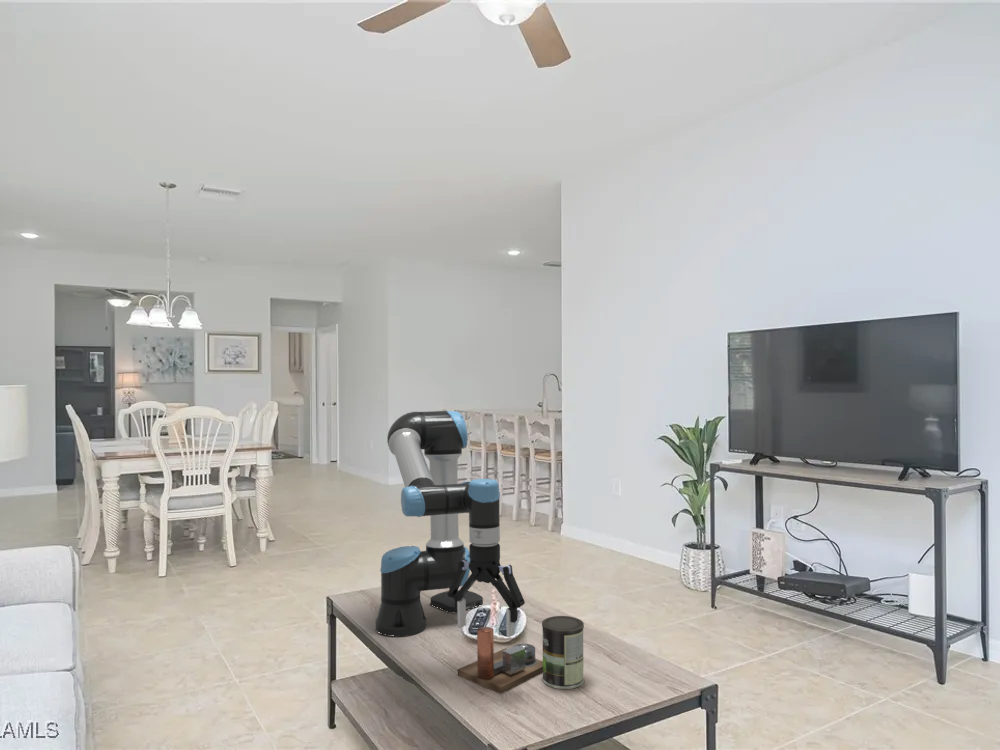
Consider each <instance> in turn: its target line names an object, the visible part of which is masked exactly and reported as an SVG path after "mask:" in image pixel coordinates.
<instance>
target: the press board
mask: <svg viewBox="0 0 1000 750" xmlns="http://www.w3.org/2000/svg"><path fill="white" fill-rule="evenodd" d="M506 649H508V648H507V647H505V648H501V649H500V650H497V651H495V652H494V663H497V662H499V661H502V651H503V650H506ZM456 672H457V674H456V675H457V676H459V677H461V678H463V679H465V680H468V681H470V682H473V683H475V684H478V685H480V686H482V687H484V688H487V689H490V690H492V691H494V692H497V693H499V694H503V693H506V692H508V691H509V690H511V689H513V688H515V687H517V686H519V685H521V684H523V683H525V682H528V681H529V680H530V679H533V678H535V677H536V676H539V675H541V674H543V660H541V659H537V658H536V657H535V662H534V663H532V664H527V665H525V669H524V670H521V671H519V672H517V673H514V674H512V675H510V674H508V673H506V672H504V671H501V672H499V673H496V674H494V676H493V677H491V678H487V679H484V678H480V677H478V671H477V660H475V661H473V662H471V663H469V664H466V665H465V666H462V667H459V668H457V671H456Z"/></svg>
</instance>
